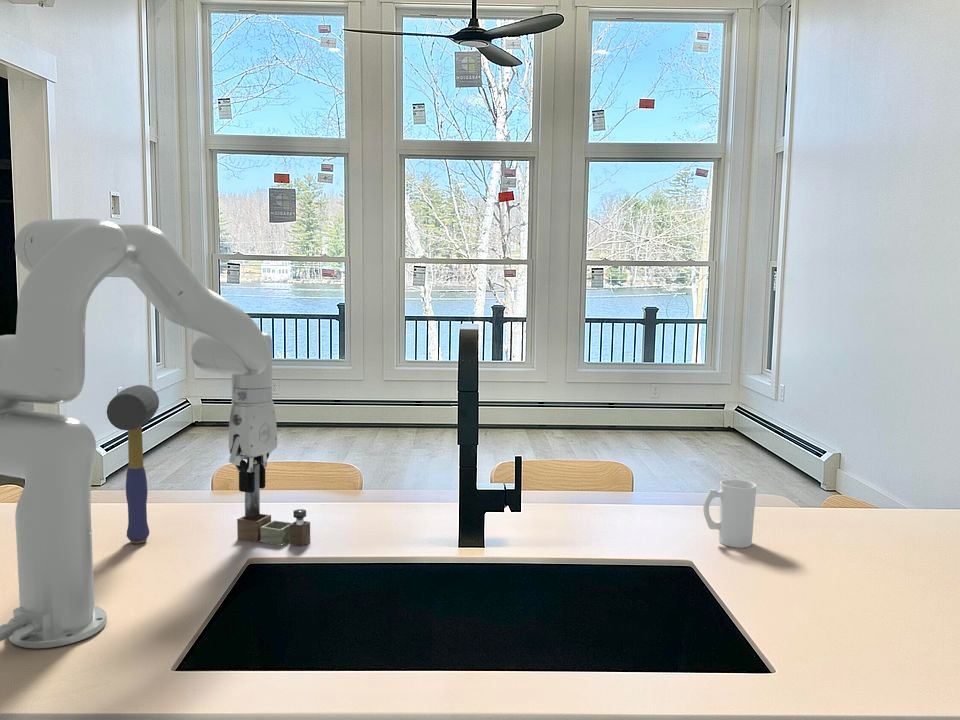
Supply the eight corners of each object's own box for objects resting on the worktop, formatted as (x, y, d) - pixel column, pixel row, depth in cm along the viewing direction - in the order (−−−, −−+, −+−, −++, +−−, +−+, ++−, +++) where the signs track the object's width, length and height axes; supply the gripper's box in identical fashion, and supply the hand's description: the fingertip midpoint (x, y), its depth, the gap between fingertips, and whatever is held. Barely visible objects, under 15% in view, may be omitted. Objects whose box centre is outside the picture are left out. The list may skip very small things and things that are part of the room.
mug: (745, 537, 161) (748, 479, 160) (758, 548, 155) (761, 488, 153) (696, 537, 161) (699, 479, 160) (707, 548, 154) (710, 488, 153)
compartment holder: (300, 548, 151) (300, 527, 150) (237, 539, 155) (237, 519, 155) (312, 540, 155) (312, 520, 155) (251, 531, 159) (251, 512, 159)
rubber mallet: (151, 552, 147) (147, 392, 144) (108, 554, 146) (102, 392, 142) (165, 530, 159) (161, 382, 156) (125, 532, 158) (120, 382, 155)
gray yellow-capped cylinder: (254, 517, 154) (254, 463, 153) (241, 515, 155) (241, 461, 154) (262, 513, 156) (262, 460, 155) (250, 511, 157) (250, 459, 156)
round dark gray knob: (302, 544, 152) (302, 513, 151) (291, 542, 153) (291, 512, 152) (308, 540, 154) (308, 510, 153) (297, 538, 155) (297, 508, 154)
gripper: (243, 403, 144) (243, 502, 146) (291, 392, 160) (291, 482, 162) (208, 400, 147) (209, 497, 148) (259, 390, 162) (259, 478, 164)
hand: (252, 488), depth 155 cm, fingers closed on gray yellow-capped cylinder, 2 cm apart
